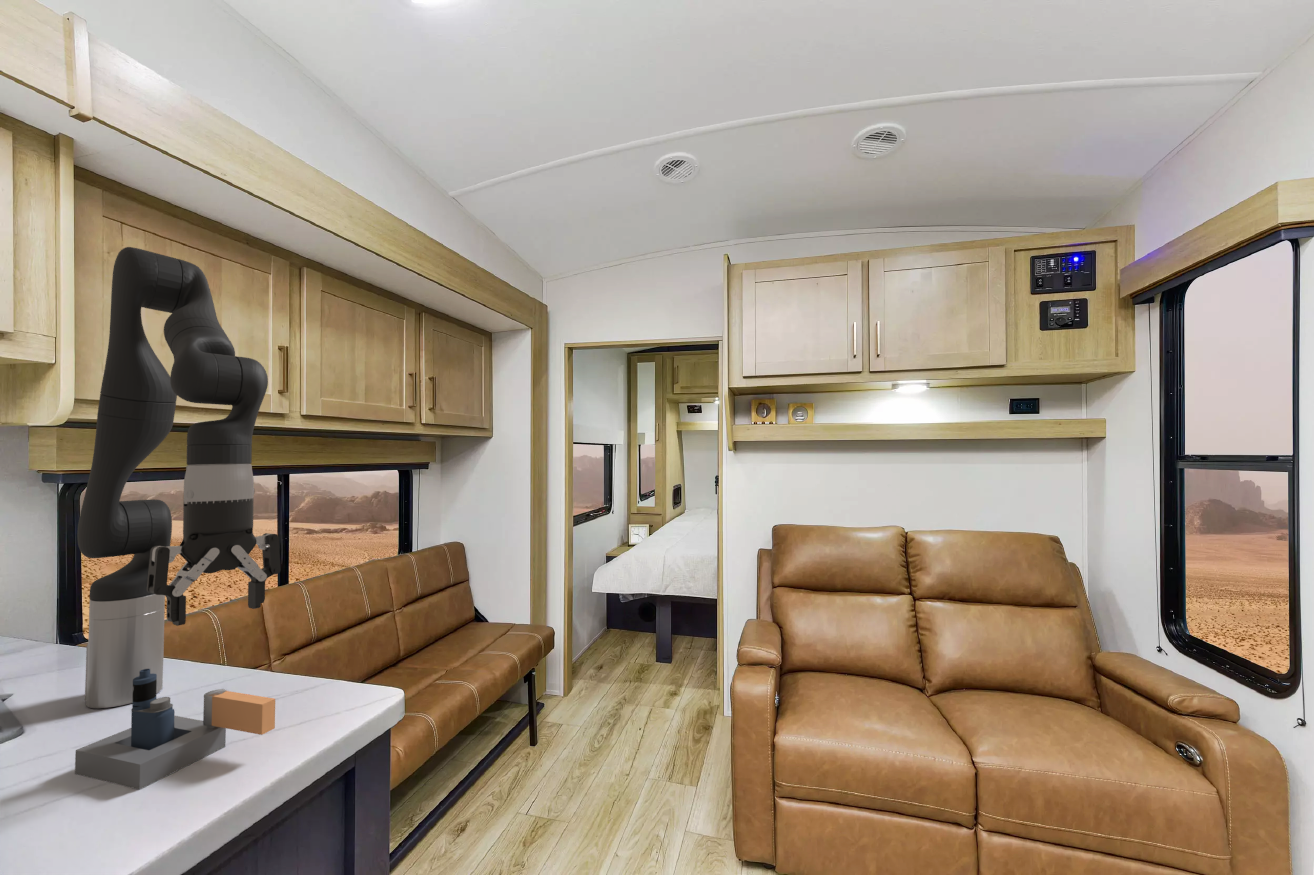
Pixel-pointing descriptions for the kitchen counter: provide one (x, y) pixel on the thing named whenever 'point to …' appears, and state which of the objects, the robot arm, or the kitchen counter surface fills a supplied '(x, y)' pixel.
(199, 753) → the socket block
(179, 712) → the kitchen counter surface
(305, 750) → the kitchen counter surface
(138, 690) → the vaping device
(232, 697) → the orange bar
